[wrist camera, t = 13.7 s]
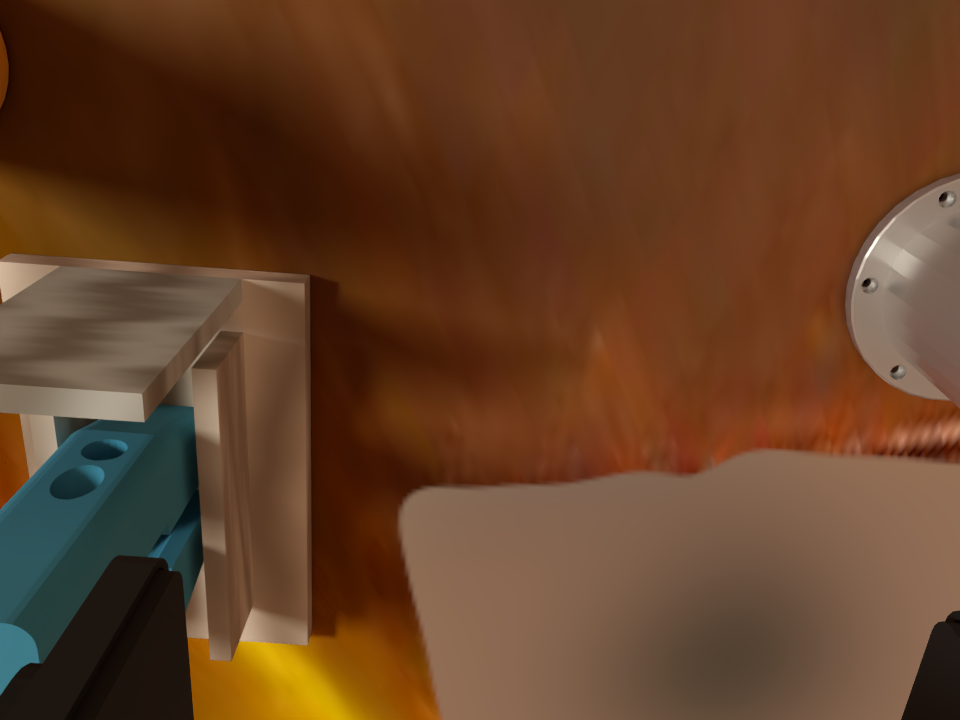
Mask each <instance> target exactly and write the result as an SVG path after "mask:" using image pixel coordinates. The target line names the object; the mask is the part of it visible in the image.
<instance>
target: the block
mask: <svg viewBox="0 0 960 720" xmlns="http://www.w3.org/2000/svg"><path fill="white" fill-rule="evenodd" d="M198 486H199V481H198V465H197V450H196V435H195V419H194V407H189V406H176V405H163V404H159V405H158V406H157V408H156V409H155V410H154V411H153V413H152V414H151V415H150V416H149V417H148V419H147V420H146V421H145V422H133V421H118V420H104V419H100V420H98V421H96V422H94V423H92V424H90V425H88V426H86V427H83V428H81V429H79V430H77V431H76V432H74V433H73V434H71V435H70V436H69V437H68V438H67V440H66V441H65V442H64V443H63V444H62V445H61V446H60V447H59V448H58V449H57V450H56V451H55V452H54V453H53V454H52V455H51V456H50V458H49V459H48V460H47V461H46V462H45V463H44V464H43V465H42V466H41V467H40V468H39V469H38V470H37V471H36V472H35V473H34V475H33V476H32V477H31V478H30V479H29V480H28V481H27V482H26V483H25V484H24V485H23V486H22V487H21V488H20V489H19V490H18V491H17V493H16V494H15V495H14V496H13V497H12V498H11V499H10V500H9V501H8V502H7V503H6V504H5V505H4V506H3V507H2V508H1V509H0V695H1V694H2V692H3V691H4V689H5V688H6V687H7V685H8V684H9V682H10V681H11V679H12V678H13V677H14V676H15V674H16V673H17V672H18V671H19V670H20V669H21V668H22V667H23V666H25V665H27V664H29V663H43V662H44V661H45V659H46V658H47V656H48V655H49V653H50V652H51V650H52V649H53V647H54V646H55V644H56V643H57V641H58V640H59V638H60V637H61V635H62V634H63V632H64V631H65V629H66V628H67V626H68V625H69V623H70V622H71V620H72V619H73V617H74V616H75V614H76V613H77V611H78V610H79V608H80V607H81V605H82V604H83V602H84V601H85V599H86V598H87V596H88V595H89V593H90V592H91V590H92V589H93V587H94V586H95V584H96V583H97V581H98V580H99V578H100V577H101V575H102V574H103V572H104V571H105V569H106V568H107V566H108V565H109V563H110V562H111V561H112V559H113V558H114V557H116V556H118V555H123V556H138V557H154V558H163V559H165V560H166V561H167V563H168V567H169V571H179V572H180V573H181V575H182V578H183V588H184V601H185V613H186V610H187V607H188V604H189V601H190V599H191V596H192V593H193V590H194V587H195V585H196V582H197V579H198V576H199V573H200V570H201V568H202V565H203V562H204V557H203V542H202V527H201V511H200V496H199V490H196V489H197V487H198Z"/></svg>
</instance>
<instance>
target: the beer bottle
mask: <svg viewBox="0 0 960 720" xmlns="http://www.w3.org/2000/svg"><path fill="white" fill-rule="evenodd" d="M8 76H9V64H8V57H7V51H6V46H5V43H4V40H3V37H2V34H1V31H0V108H1V106H2V104H3V102H4V100H5V95H6V91H7V86H8Z"/></svg>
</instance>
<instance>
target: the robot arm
mask: <svg viewBox="0 0 960 720" xmlns="http://www.w3.org/2000/svg"><path fill="white" fill-rule="evenodd" d="M942 193H944V196H943V197H942V198H941V199H940V200H939V198H940V196H941V194H942ZM867 278H868V280H867V282H866V283H865V284H862V283H863V281H864V280H866V279H867ZM845 310H846V319H847V327H848V329H849V332H850V335H851V338H852V341H853V344H854V346H855V347H856V349H857V351H858V352H859V354H860V355H861V357H862V358H863V360H864V361H865V362H866V363H867V364H868V365H869V366H870V367H871V369H872V370H873V371H874V372H875V373H876V374H877V375H879V376H880V377H881V378H882V379H883V380H884V381H886V382H887V383H888V384H890V385H891V386H893V387H896V388H898V389H900V390H902V391H904V392H906V393H908V394H911V395H915V396H918V397H922V398H926V399H933V400H947V401H952V402H953V403H954V404H955V405H956V406H958V407H959V408H960V173H959V174H956V175H953V176H949V177H946V178H943V179H940V180H938V181H936V182H934V183H932V184H930V185H928V186H926V187H924V188H921V189H919V190H918V191H916V192H915V193H913V194H912V195H910V196H909V197H908V198H906V199H905V200H903V201H902V202H900V203H899V204H898V205H896V206H895V207H894V208H893V209H892V210H891V211H890V212H889V213H888V214H887V215H886V216H885V217H884V218H883V219H882V220H881V221H880V222H879V223H878V224H877V226H876V227H875V228H874V230H873V231H872V232H871V234H870V235H869V237H868V238H867V239H866V241H865V242H864V244H863V246H862V248H861V250H860V252H859V254H858V256H857V257H856V259H855V261H854V263H853V267H852V270H851V273H850V277H849V280H848V283H847V291H846V301H845ZM893 367H894V368H893ZM892 368H893V369H892ZM0 720H194V717H193V704H192V691H191V678H190V665H189V652H188V639H187V627H186V614H185V601H184V588H183V578H182V575H181V573H180V572H179V571H169V567H168V563H167V561H166V560H165V559H163V558H154V557H138V556H123V555H118V556H116V557H114V558H113V559H112V561H111V562H110V563H109V565H108V566H107V568H106V569H105V571H104V572H103V574H102V575H101V577H100V578H99V580H98V581H97V583H96V584H95V586H94V587H93V589H92V590H91V592H90V593H89V595H88V596H87V598H86V599H85V601H84V602H83V604H82V605H81V607H80V608H79V610H78V611H77V613H76V614H75V616H74V617H73V619H72V620H71V622H70V623H69V625H68V626H67V628H66V629H65V631H64V632H63V634H62V635H61V637H60V638H59V640H58V641H57V643H56V644H55V646H54V647H53V649H52V650H51V652H50V653H49V655H48V656H47V658H46V659H45V661H44V662H43V663H29V664H27V665H25V666H23V667H22V668H21V669H20V670H19V671H18V672H17V673H16V674H15V676H14V677H13V678H12V679H11V681H10V682H9V684H8V685H7V687H6V688H5V689H4V691H3V692H2V694H1V695H0ZM901 720H960V611H954V612H952V613H951V614H950V615H948V617H947V619H946V621H945V622H938V623H937V624H936V625H935V626H934V628H933V630H932V632H931V635H930V638H929V641H928V644H927V647H926V650H925V653H924V655H923V658H922V661H921V664H920V667H919V670H918V673H917V676H916V679H915V682H914V684H913V687H912V690H911V693H910V696H909V699H908V702H907V704H906V708H905V710H904V713H903V716H902V719H901Z"/></svg>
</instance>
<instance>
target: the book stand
mask: <svg viewBox="0 0 960 720" xmlns="http://www.w3.org/2000/svg"><path fill="white" fill-rule="evenodd" d="M0 288H1V294H2V301H3V303H2V304H0V412H2V413H17V414H20V418H21V425H22V431H23V438H24V444H25V451H26V457H27V464H28V470H29V477H30V478H31V477H32V476H33V475H34V473H35V472H36V471H37V470H38V469H39V468H40V467H41V466H42V465H43V464H44V463H45V462H46V461H47V460H48V459H49V458H50V456H51V455H52V454H53V453H54V452H55V451H56V450H57V449H58V448H59V447H60V446H61V445H62V444H63V443H64V442H65V441H66V440H67V438H68V437H69V436H70V435H71V434H73V433H74V432H76V431H77V430H79V429H81V428H83V427H86V426H88V425H90V424H92V423H94V422H96V421H98V420H100V419H104V420H118V421H133V422H145V421H146V420H147V419H148V417H149V416H150V415H151V414H152V413H153V411H154V410H155V409H156V408H157V406H158V405H159V404H163V405H176V406H189V407H194V419H195V435H196V450H197V465H198V481H199V486H198V487H197V489H196V490H199V496H200V511H201V527H202V542H203V557H204V562H203V565H202V568H201V570H200V573H199V576H198V579H197V582H196V585H195V587H194V590H193V593H192V596H191V599H190V601H189V604H188V607H187V610H186V613H185V614H186V627H187V637H189V638H205V639H209V650H210V660H223V661H232V658H233V656H234V653H235V651H236V648H237V645H238V643H239V641H251V642H267V643H282V644H298V645H308V642H309V638H310V635H311V631H312V525H311V359H310V275H306V274H292V273H278V272H264V271H250V270H236V269H222V268H208V267H194V266H180V265H166V264H153V263H139V262H125V261H111V260H97V259H83V258H69V257H55V256H41V255H27V254H13V253H11V254H9V255H7V256H5V257H4V258H2V259H0Z"/></svg>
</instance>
